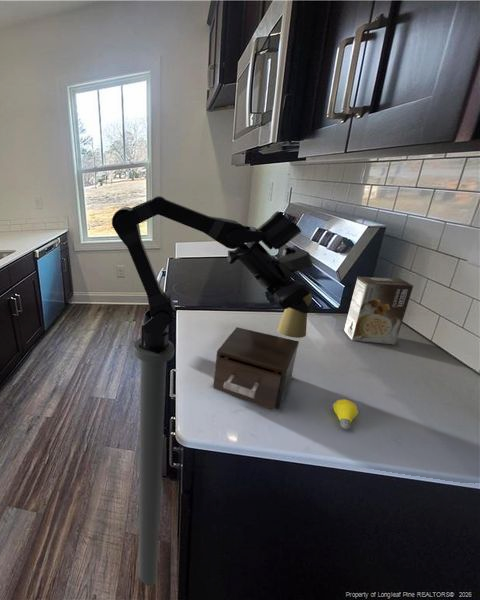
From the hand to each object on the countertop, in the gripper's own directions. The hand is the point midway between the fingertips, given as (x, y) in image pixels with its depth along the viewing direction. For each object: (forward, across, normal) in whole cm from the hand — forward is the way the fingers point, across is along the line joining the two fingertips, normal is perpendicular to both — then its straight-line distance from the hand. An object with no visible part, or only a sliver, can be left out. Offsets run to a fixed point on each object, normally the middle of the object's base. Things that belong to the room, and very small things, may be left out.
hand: (302, 307), depth 76 cm
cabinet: (0, -15, +18) cm, 23 cm away
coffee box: (+24, +10, -6) cm, 27 cm away
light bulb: (+9, -25, +9) cm, 28 cm away
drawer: (-3, -19, +19) cm, 27 cm away
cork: (+4, 0, +6) cm, 7 cm away
